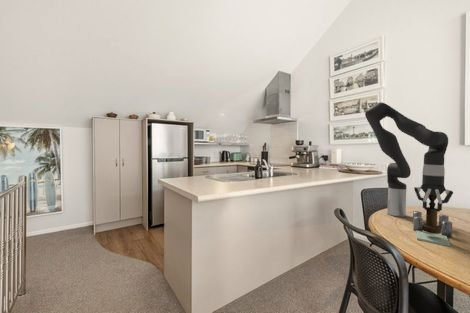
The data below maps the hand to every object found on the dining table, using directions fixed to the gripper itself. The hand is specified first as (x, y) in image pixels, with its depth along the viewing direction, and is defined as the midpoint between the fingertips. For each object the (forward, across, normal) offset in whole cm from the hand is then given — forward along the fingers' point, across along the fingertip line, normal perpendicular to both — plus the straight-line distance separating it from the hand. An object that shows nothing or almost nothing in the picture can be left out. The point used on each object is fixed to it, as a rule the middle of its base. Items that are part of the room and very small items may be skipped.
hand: (431, 210), depth 100 cm
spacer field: (+14, +1, +14) cm, 20 cm away
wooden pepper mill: (+10, 0, 0) cm, 10 cm away
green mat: (+14, 0, 0) cm, 14 cm away
